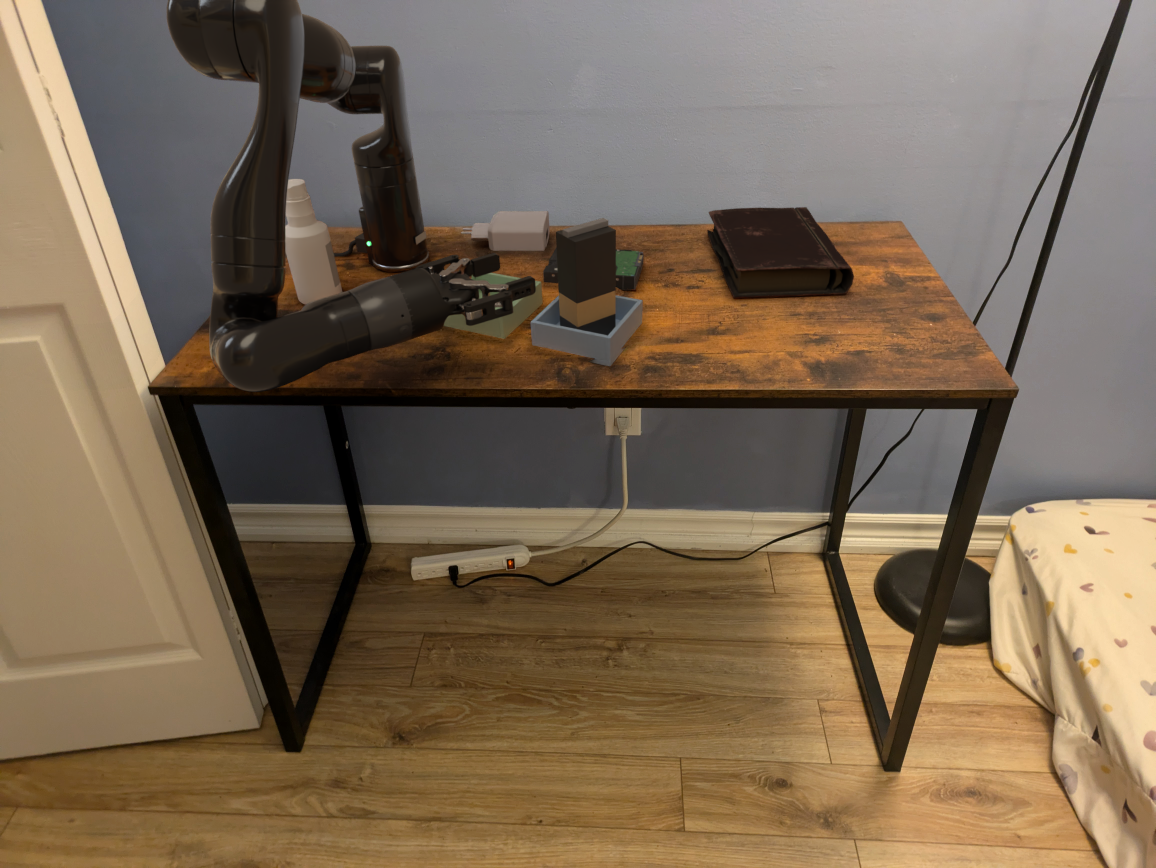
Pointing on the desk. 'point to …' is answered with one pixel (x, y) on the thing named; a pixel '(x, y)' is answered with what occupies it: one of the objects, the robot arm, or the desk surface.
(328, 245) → the spray bottle
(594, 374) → the desk surface
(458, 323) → the left bin
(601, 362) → the right bin
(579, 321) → the coffee bag
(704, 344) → the desk surface
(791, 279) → the diary
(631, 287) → the disk drive
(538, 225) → the charger
